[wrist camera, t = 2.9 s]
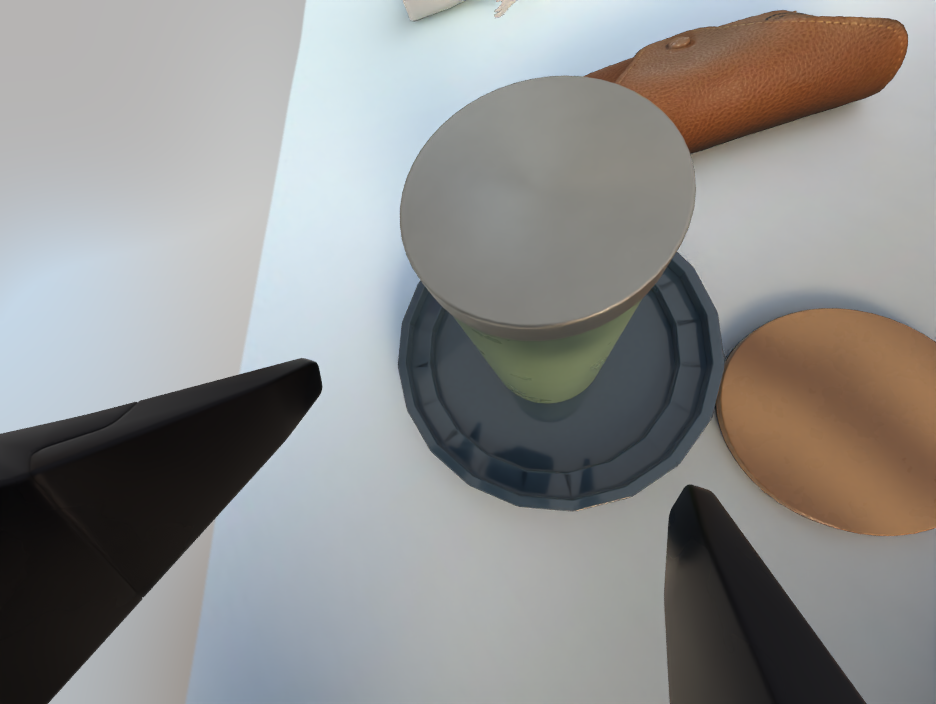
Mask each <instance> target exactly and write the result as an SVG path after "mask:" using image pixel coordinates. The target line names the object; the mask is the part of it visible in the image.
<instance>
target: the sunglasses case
mask: <svg viewBox="0 0 936 704" xmlns="http://www.w3.org/2000/svg"><path fill="white" fill-rule="evenodd" d="M907 47H908V34H907V31H906V30H905V27H904V25H903V24H901V23H900V22H899V21H897V20H892V19H889V18H864V17H843V16H836V17H831V16H828V17H827V16H820V17H818V16H813V15H807V14H803V13H796V11H793V12H791V11H785V10H779V11H772V12H769V13H764V14H761V15H757V16H752V17H749V18H745V19H742V20H738V21H735V22H732V23H728V24H726V25H722V26H719V27H715V26H714V27H704V28H697V29H694V30H689V31H686V32H683V33H680V34H677V35H675V36H672V37H670V38H666V39H664V40H662V41H658V42H655V43H652V44H650V45H648V46H646V47H644V48H642V49H641V50H639V51H638V52H637V53H636V55H635V56H634V57H633V58H630V59H627V60H625V61H622V62H619V63H617V64H614V65H610V66H608V67H605V68H603V69H601V70H598V71H595V72H592V73H590V74H588V75H585V76H583V77H589V78H595V79H601V80H604V81H608V82H611V83H615V84H618V85H621V86H623V87H625V88H628V89H630V90H632V91H635V92H636V93H638V94H640V95H641V96H643V97H645V98H646V99H648V100H650V101H651V102H652V103H653V104H655V105H656V106H657V107H658V108H660V109H661V110H662V111H663V112H664V113H665V114H666V115H667V116H668V117H669V119H670V120H671V121H672V122H673V123H674V124H675V126H676V127H677V129H678V130H679V132H680V133H681V135H682V136H683V138H684V140H685V143H686V145H687V147H688V149H689V152H690V154H692V153H695V152H699V151H702V150H705V149H708V148H711V147H713V146H716V145H719V144H722V143H725V142H728V141H731V140H734V139H737V138H740V137H743V136H746V135H749V134H753V133H756V132H760V131H763V130H766V129H769V128H772V127H775V126H778V125H781V124H784V123H787V122H791V121H794V120H797V119H800V118H803V117H806V116H809V115H812V114H816V113H819V112H823V111H826V110H829V109H833V108H836V107H839V106H842V105H845V104H848V103H850V102H854V101H858V100H861V99H864V98H867V97H869V96H872V95H874V94H876V93H878V92H880V91H881V90H882V89H883V88H884V87H885V86H886V85H887V84H888V83H889V82H890V81H891V80H892V79H893V78H894V76H895V75H896V73H897V71H898V70H899V68H900V67H901V65H902V62H903V60H904V58H905V55H906V52H907Z"/></svg>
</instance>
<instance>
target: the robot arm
mask: <svg viewBox="0 0 936 704" xmlns="http://www.w3.org/2000/svg"><path fill="white" fill-rule="evenodd" d="M321 392H322V381H321V376H320V371H319V366H318V364H317V363H316V362H314V361H311V360H308V359H305V358H300V359H296V360H292V361H289V362H285V363H281V364H277V365H273V366H270V367H266V368H262V369H258V370H255V371H251V372H247V373H243V374H239V375H236V376H232V377H228V378H225V379H221V380H217V381H213V382H209V383H205V384H202V385H198V386H194V387H190V388H187V389H183V390H180V391H175V392H171V393H168V394H164V395H160V396H156V397H152V398H149V399H145V400H141V401H139V402H133V403H130V404H126V405H122V406H118V407H114V408H110V409H107V410H103V411H99V412H95V413H91V414H87V415H82V416H78V417H74V418H70V419H66V420H61V421H56V422H52V423H48V424H43V425H38V426H34V427H30V428H25V429H20V430H16V431H11V432H7V433H3V434H0V704H48V703H49V702H50V701H51V700H52V698H53V697H54V696H55V695H56V694H57V693H58V692H59V691H60V690H61V689H62V687H63V686H64V685H65V684H66V683H67V682H68V681H69V680H70V679H71V677H72V676H73V675H74V674H75V673H76V672H77V671H78V670H79V669H80V667H81V666H82V665H83V664H84V663H85V662H86V661H87V660H88V659H89V658H90V656H91V655H92V654H93V653H94V652H95V651H96V650H97V649H98V648H99V646H100V645H101V644H102V643H103V642H104V641H105V640H106V639H107V638H108V636H109V635H110V634H111V633H112V632H113V631H114V630H115V629H116V627H118V626H119V624H120V623H121V622H122V621H123V620H124V619H125V618H126V617H127V615H128V614H129V613H130V612H131V611H132V610H133V609H134V608H135V607H136V605H137V604H138V603H139V602H140V601H141V600H142V597H144V596H145V595H146V594H147V593H148V592H149V591H150V590H151V588H153V586H154V585H155V584H156V583H157V582H158V581H159V580H160V579H161V578H162V577H163V575H164V574H165V573H166V572H167V571H168V570H169V569H170V568H171V567H172V565H173V564H174V563H175V562H176V561H177V560H178V559H179V558H180V557H181V556H182V554H183V553H184V552H185V551H186V550H187V549H188V548H189V547H190V546H191V545H192V543H193V542H194V541H195V540H196V539H197V538H198V537H199V536H200V535H201V533H202V532H203V531H204V530H205V529H206V528H207V527H208V526H209V525H210V523H211V522H212V521H213V520H214V519H215V518H216V517H217V516H218V515H219V514H220V512H221V511H222V510H223V509H224V508H225V507H226V506H227V505H228V504H229V503H230V501H231V500H232V499H233V498H234V497H235V496H236V495H237V494H238V493H239V492H240V490H241V489H242V488H243V487H244V486H245V485H246V484H247V483H248V482H249V480H250V479H251V478H252V477H253V476H254V475H255V474H256V473H257V472H258V471H259V469H260V468H261V467H262V466H263V465H264V464H265V463H266V462H267V461H268V459H269V458H270V457H271V456H272V455H273V454H274V453H275V452H276V451H277V450H278V448H279V447H280V446H281V445H282V444H283V443H284V442H285V440H286V439H287V438H288V437H289V435H290V434H291V433H292V432H293V430H294V429H295V428H296V426H297V425H298V424H299V422H300V421H301V420H302V418H303V417H304V416H305V414H306V413H307V412H308V410H309V409H310V408H311V406H312V405H313V404H314V402H315V401H316V400H317V398H318V397H319V395H320V394H321ZM664 608H665V627H666V645H667V663H668V681H669V699H670V704H866V702H865V701H864V699H863V698H862V697H861V695H860V694H859V693H858V691H857V690H856V688H855V687H854V686H853V684H852V683H851V682H850V680H849V679H848V677H847V676H846V675H845V673H844V672H843V671H842V669H841V668H840V666H839V665H838V664H837V662H836V661H835V660H834V658H833V657H832V656H831V654H830V653H829V651H828V650H827V649H826V647H825V646H824V645H823V643H822V642H821V640H820V639H819V638H818V636H817V635H816V634H815V632H814V631H813V629H812V628H811V627H810V625H809V624H808V623H807V621H806V620H805V618H804V617H803V616H802V614H801V613H800V612H799V610H798V609H797V607H796V606H795V605H794V603H793V602H792V601H791V599H790V598H789V596H788V595H787V594H786V592H785V591H784V590H783V588H782V587H781V585H780V584H779V583H778V581H777V580H776V579H775V577H774V576H773V574H772V573H771V572H770V570H769V569H768V568H767V566H766V565H765V563H764V562H763V561H762V559H761V558H760V557H759V555H758V554H757V552H756V551H755V550H754V548H753V547H752V546H751V544H750V543H749V541H748V540H747V539H746V537H745V536H744V535H743V533H742V532H741V530H740V529H739V528H738V526H737V525H736V524H735V522H734V521H733V519H732V518H731V517H730V515H729V514H728V513H727V511H726V510H725V508H724V507H723V506H722V504H721V503H720V502H719V500H718V499H717V497H716V496H715V495H714V494H713V493H712V492H711V491H709V490H707V489H704V488H701V487H698V486H694V485H687V486H686V487H685V488H684V489H683V491H682V492H681V494H680V496H679V497H678V499H677V500H676V502H675V504H674V505H673V507H672V509H671V511H670V515H669V523H668V539H667V554H666V570H665V587H664Z"/></svg>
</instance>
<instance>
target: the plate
mask: <svg viewBox="0 0 936 704" xmlns="http://www.w3.org/2000/svg"><path fill="white" fill-rule="evenodd" d="M724 365H725V363H724V356H723V348H722V341H721V333H720V325H719V318H718V313H717V310H716V309H715V307H714V305H713V303H712V301H711V299H710V297H709V295H708V293H707V291H706V290H705V288H704V286H703V284H702V282H701V280H700V278H699V276H698V274H697V273H696V271H695V269H694V268H693V266H692V265H691V264H690V263H688V262H687V261H686V260H685V259H684V258H683V257H682V256H681V255H680V254H679V253H678V252H676V253H675V255H674V256H673V258H672V260H671V261H670V263H669V264H668V266H667V268H666V269H665V271H664V272H663V274H662V275H661V277H660V279H659V280H658V281H657V283H656V284H655V285H654V286H653V287H652V288H651V290H650V291H649V292H648V293H647V294H646V295H645V296H644V297H643V298H642V300H641V302H640V303H639V305H638V307H637V308H636V310H635V312H634V313H633V315H632V317H631V319H630V320H629V322H628V324H627V325H626V327H625V329H624V330H623V332H622V334H621V335H620V337H619V339H618V340H617V342H616V344H615V345H614V347H613V349H612V350H611V352H610V354H609V356H608V357H607V359H606V361H605V362H604V364H603V366H602V367H601V369H600V371H599V372H598V374H597V376H596V377H595V379H594V380H593V382H592V383H591V384H590V385H589V386H588V387H587V388H586V389H585V390H584V391H583V392H581V393H580V394H578V395H577V396H575V397H573V398H571V399H568V400H565V401H562V402H557V403H537V402H532V401H529V400H526V399H524V398H522V397H520V396H518V395H516V394H515V393H513V392H512V391H511V390H510V389H508V388H507V387H506V386H505V385H504V383H503V382H502V381H501V380H500V378H499V377H498V376H497V374H496V373H495V372H494V370H493V369H492V368H491V366H490V365H489V364H488V362H487V361H486V360H485V358H484V357H483V356H482V354H481V353H480V352H479V350H478V349H477V348H476V346H475V345H474V343H473V342H472V341H471V339H470V338H469V337H468V335H467V334H466V333H465V331H464V330H463V329H462V327H461V326H460V325H459V323H458V322H457V321H456V319H455V318H454V317H453V315H452V314H450V313H449V312H448V311H447V310H445V309H444V308H443V307H442V306H441V305H440V304H439V302H438V301H437V300H436V299H435V298H434V297H433V296H432V294H431V293H430V292H429V291H428V289H427V288H426V287H425V285H424V284H423V283H422V282H421V280H420V282H419V284H418V285H417V288H416V290H415V292H414V295H413V297H412V300H411V302H410V305H409V307H408V309H407V312H406V314H405V317H404V319H403V321H402V328H401V338H400V348H399V359H398V369H399V374H400V379H401V383H402V388H403V393H404V398H405V402H406V407H407V411H408V413H409V414H410V416H411V418H412V420H413V421H414V423H415V425H416V426H417V428H418V430H419V432H420V433H421V435H422V437H423V439H424V440H425V442H426V444H427V446H428V447H429V449H430V451H431V452H432V453H433V454H434V455H435V456H437V457H438V458H439V459H440V460H441V461H442V462H443V463H444V464H446V465H447V466H448V467H449V468H450V469H451V470H452V471H453V472H454V473H456V474H457V475H458V476H459V477H460V478H461V479H462V480H463V481H465V482H466V483H467V484H468V485H470V486H472V487H474V488H476V489H478V490H481V491H483V492H485V493H488V494H490V495H492V496H495V497H497V498H499V499H501V500H504V501H506V502H508V503H511V504H513V505H515V506H519V507H527V508H538V509H550V510H562V511H579V510H583V509H587V508H591V507H595V506H599V505H603V504H607V503H611V502H615V501H619V500H623V499H627V498H630V497H632V496H634V495H635V494H637V493H638V492H640V491H641V490H643V489H644V488H646V487H647V486H649V485H650V484H652V483H653V482H655V481H656V480H658V479H659V478H661V477H662V476H664V475H665V474H666V473H668V472H669V471H671V470H672V469H674V468H675V467H677V466H678V464H680V463H681V462H682V460H683V459H684V457H685V456H686V455H687V453H688V452H689V450H690V449H691V447H692V446H693V445H694V443H695V442H696V440H697V439H698V438H699V436H700V435H701V433H702V432H703V430H704V429H705V428H706V426H707V425H708V423H709V422H710V420H711V418H712V416H713V412H714V408H715V404H716V399H717V395H718V391H719V387H720V383H721V379H722V375H723V371H724Z"/></svg>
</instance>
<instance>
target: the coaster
mask: <svg viewBox="0 0 936 704" xmlns="http://www.w3.org/2000/svg"><path fill="white" fill-rule="evenodd" d="M716 407H717V416H718V421H719V425H720V429H721V431H722V434H723V437H724V439H725V442H726V444H727V446H728V448H729V449H730V451H731V453H732V455H733V457H734V458H735V459H736V461H737V462H738V464H739V465H740V467H741V468H742V469H743V470H744V472H745V473H746V474H747V475H748V476H749V477H750V478H751V480H752V481H753V482H754V483H756V484H757V485H758V486H759V487H760V488H761V489H762V490H763V491H764V492H765V493H767V494H768V495H769V496H771V497H772V498H773V499H775V500H776V501H777V502H779V503H780V504H782V505H783V506H785V507H787V508H789V509H790V510H792V511H794V512H795V513H797V514H799V515H802V516H804V517H806V518H808V519H810V520H812V521H815V522H818V523H821V524H824V525H827V526H830V527H833V528H837V529H841V530H845V531H849V532H854V533H858V534H867V535H875V536H899V535H907V534H915V533H919V532H923V531H927V530H930V529H934V528H936V342H935V341H933V340H932V339H930V338H929V337H927V336H925V335H924V334H922V333H920V332H918V331H916V330H915V329H913V328H911V327H909V326H907V325H904V324H902V323H900V322H897V321H895V320H892V319H890V318H886V317H883V316H880V315H876V314H873V313H868V312H863V311H858V310H849V309H839V308H821V309H812V310H804V311H800V312H795V313H791V314H788V315H785V316H782V317H779V318H776V319H774V320H772V321H770V322H768V323H766V324H764V325H763V326H761V327H759V328H758V329H756V330H755V331H753V332H752V333H750V334H749V335H748V336H746V337H745V338H744V339H743V340H742V341H741V342H740V343H739V344H738V345H737V346H736V347H735V348H734V350H733V351H732V352H731V353H730V355H729V357H728V358H727V360H726V362H725V365H724V371H723V375H722V379H721V383H720V387H719V391H718V395H717V399H716Z"/></svg>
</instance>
